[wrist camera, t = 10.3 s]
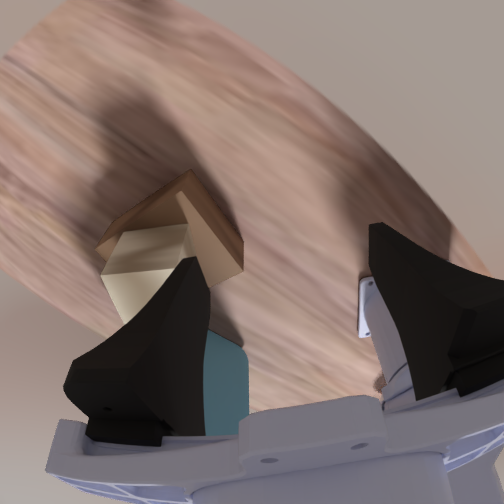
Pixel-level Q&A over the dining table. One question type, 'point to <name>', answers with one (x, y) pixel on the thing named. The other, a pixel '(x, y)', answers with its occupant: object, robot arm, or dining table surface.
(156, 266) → the birch cube
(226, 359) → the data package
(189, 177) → the walnut base block
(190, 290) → the robot arm
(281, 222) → the dining table surface
